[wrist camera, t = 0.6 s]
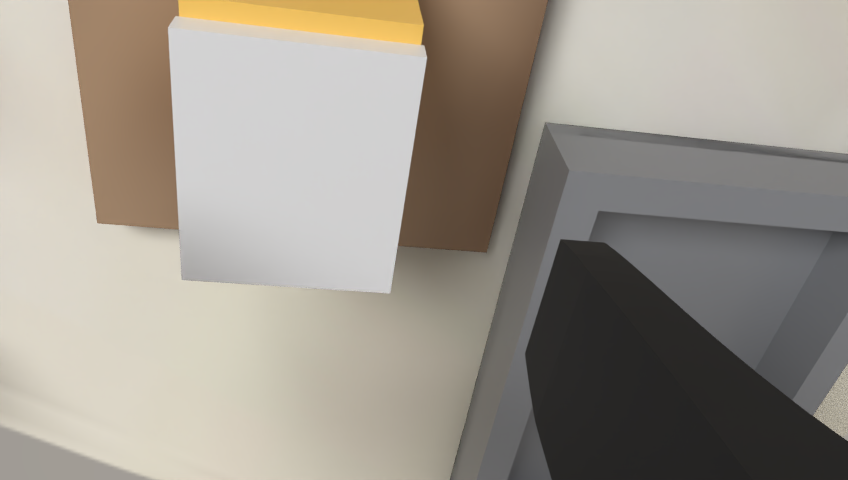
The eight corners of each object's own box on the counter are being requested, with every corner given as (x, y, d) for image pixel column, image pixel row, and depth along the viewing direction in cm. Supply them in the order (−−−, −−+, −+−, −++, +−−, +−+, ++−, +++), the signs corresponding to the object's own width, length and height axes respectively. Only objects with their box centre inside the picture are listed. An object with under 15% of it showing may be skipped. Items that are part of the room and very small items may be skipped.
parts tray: (890, 158, 20) (952, 206, 18) (686, 507, 29) (712, 566, 27) (545, 122, 18) (569, 170, 16) (443, 502, 27) (451, 564, 25)
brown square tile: (575, -173, 14) (588, -168, 14) (481, 231, 20) (486, 252, 19) (53, -262, 13) (34, -262, 12) (108, 202, 19) (97, 223, 18)
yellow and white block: (406, -54, 15) (430, 37, 10) (379, 160, 17) (388, 306, 13) (226, -79, 14) (166, 5, 10) (228, 146, 17) (182, 293, 12)
